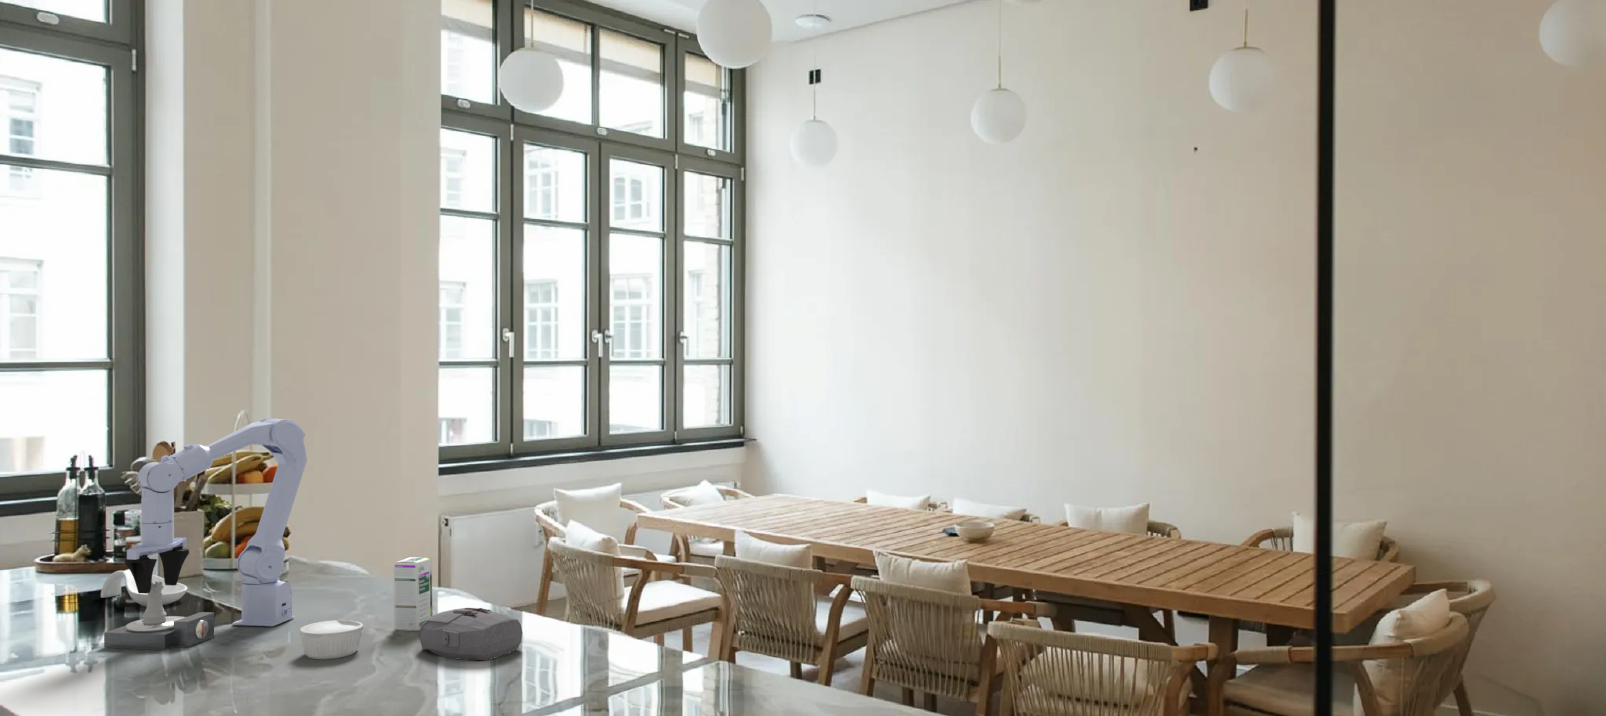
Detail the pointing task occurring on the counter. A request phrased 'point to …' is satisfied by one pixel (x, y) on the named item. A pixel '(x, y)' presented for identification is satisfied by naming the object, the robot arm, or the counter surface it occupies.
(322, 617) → the counter surface
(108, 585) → the spoon rest
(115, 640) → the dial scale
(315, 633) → the ramekin
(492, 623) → the grey rounded bag
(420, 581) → the syrup box
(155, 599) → the rook chess piece
